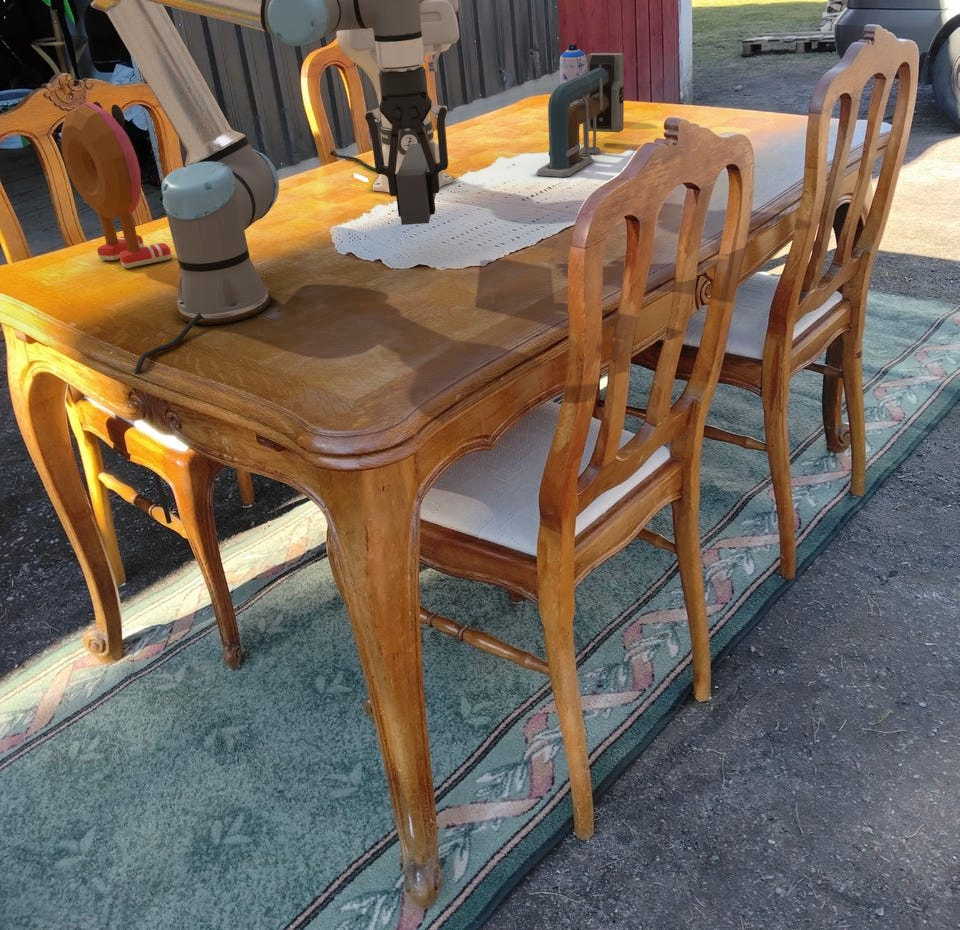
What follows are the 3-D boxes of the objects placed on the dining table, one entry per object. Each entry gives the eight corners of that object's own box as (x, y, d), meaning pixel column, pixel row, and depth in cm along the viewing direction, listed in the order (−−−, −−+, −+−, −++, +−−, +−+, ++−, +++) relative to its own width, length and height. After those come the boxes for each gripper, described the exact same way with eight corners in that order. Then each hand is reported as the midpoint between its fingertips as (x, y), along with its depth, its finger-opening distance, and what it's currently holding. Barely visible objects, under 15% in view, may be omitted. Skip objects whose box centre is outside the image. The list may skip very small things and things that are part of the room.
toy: (184, 259, 191) (146, 100, 176) (138, 275, 185) (94, 111, 170) (129, 242, 204) (90, 93, 189) (85, 256, 198) (40, 102, 183)
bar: (428, 223, 161) (424, 174, 157) (401, 225, 162) (395, 176, 157) (438, 186, 181) (434, 142, 177) (413, 188, 182) (409, 144, 177)
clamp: (567, 177, 223) (565, 79, 213) (533, 175, 227) (529, 78, 216) (623, 141, 249) (623, 53, 238) (592, 140, 253) (590, 53, 242)
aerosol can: (559, 122, 275) (557, 47, 265) (562, 117, 282) (559, 42, 272) (587, 121, 274) (585, 45, 263) (589, 115, 280) (587, 41, 270)
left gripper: (458, 59, 156) (469, 203, 168) (349, 67, 157) (368, 210, 169) (455, 67, 149) (467, 216, 161) (342, 75, 150) (363, 223, 162)
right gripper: (457, -15, 176) (464, 67, 183) (347, -5, 178) (357, 75, 184) (456, -13, 171) (462, 71, 177) (341, -3, 172) (352, 80, 179)
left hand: (417, 212), depth 165 cm, fingers closed on bar, 5 cm apart
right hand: (408, 73), depth 181 cm, fingers open, 8 cm apart
